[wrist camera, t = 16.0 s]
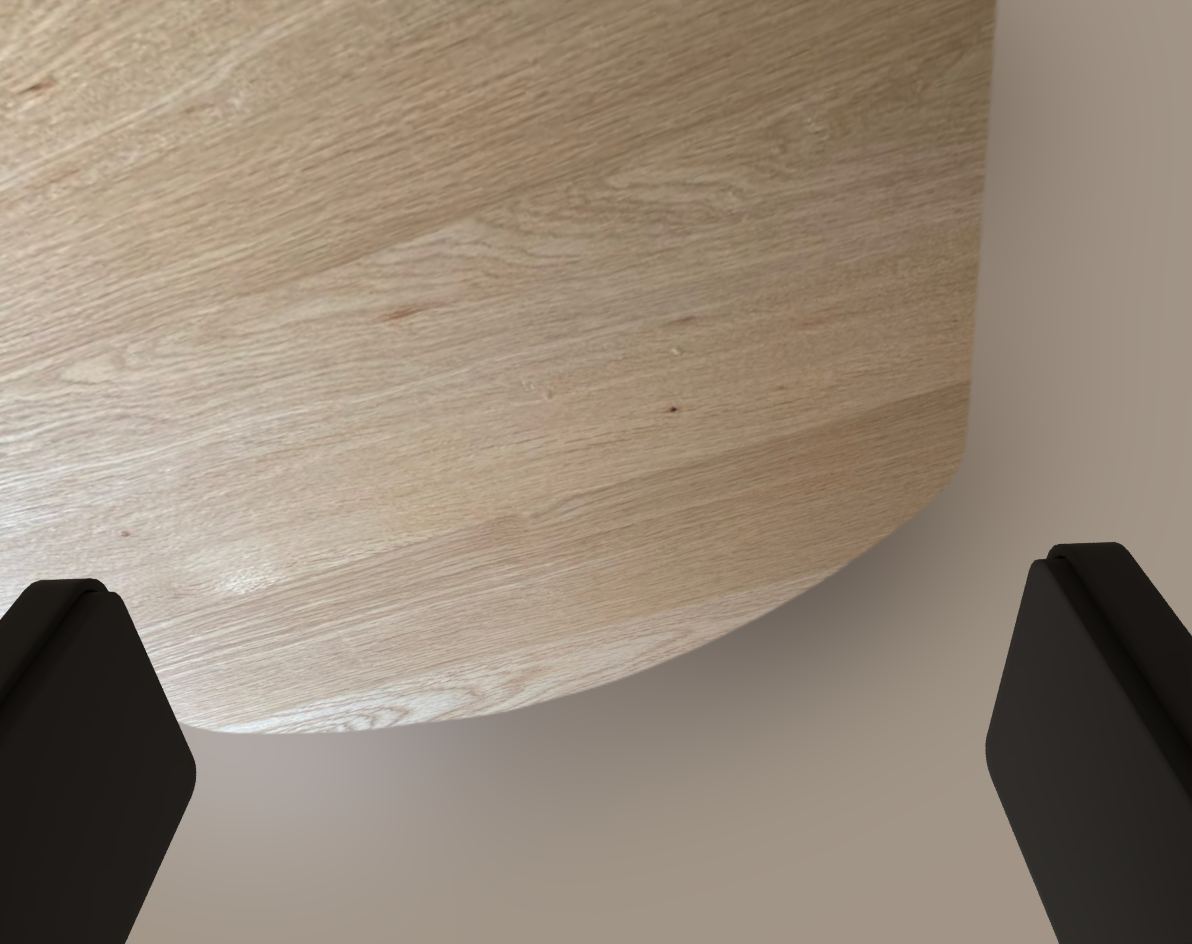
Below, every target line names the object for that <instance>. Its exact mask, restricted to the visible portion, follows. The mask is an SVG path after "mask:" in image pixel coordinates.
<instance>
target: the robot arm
mask: <svg viewBox="0 0 1192 944" xmlns="http://www.w3.org/2000/svg"><path fill="white" fill-rule="evenodd" d="M986 760H987V766H988V770H989V773H990V776H991V778H992V781H993V784H994V786H995V788H996V791H997V793H998V796H999V798H1000V801H1001V803H1002V806H1003V808H1004V810H1005V813H1006V815H1007V817H1008V820H1009V822H1010V825H1011V827H1012V830H1013V832H1014V834H1015V837H1016V840H1017V842H1018V844H1019V847H1020V849H1021V852H1022V854H1023V857H1024V859H1025V862H1026V864H1027V866H1028V869H1029V871H1030V874H1031V876H1032V878H1033V881H1034V883H1035V886H1036V888H1037V891H1038V893H1039V896H1040V898H1041V900H1042V903H1043V905H1044V908H1045V910H1046V913H1047V915H1048V918H1049V920H1050V922H1051V925H1052V927H1053V930H1054V932H1055V934H1056V937H1057V939H1058V942H1059V944H1192V636H1191V634H1190V633H1189V632H1188V630H1187V629H1186V628H1185V626H1184V625H1183V624H1182V622H1181V621H1180V620H1179V618H1178V617H1177V616H1176V614H1175V613H1174V612H1173V610H1172V609H1171V608H1170V606H1169V605H1168V603H1167V602H1166V601H1165V599H1164V598H1163V597H1162V595H1161V594H1160V593H1159V591H1158V590H1157V589H1156V587H1155V586H1154V585H1153V584H1152V582H1151V581H1150V579H1149V578H1148V577H1147V575H1146V574H1145V573H1144V571H1143V570H1142V569H1141V567H1140V566H1139V565H1138V563H1137V562H1136V561H1135V559H1134V558H1133V557H1132V555H1131V554H1130V552H1129V551H1128V550H1127V549H1126V548H1125V547H1124V546H1123V545H1121V544H1119V543H1116V542H1105V543H1104V542H1103V543H1075V544H1058V545H1055V546H1053V547H1052V549H1051V550H1050V551H1049V553H1048V556H1047V558H1046V559H1038V560H1035V561H1034V562H1033V563H1032V565H1031V567H1030V570H1029V573H1028V577H1027V581H1026V585H1025V589H1024V593H1023V596H1022V600H1021V604H1020V608H1019V612H1018V616H1017V620H1016V624H1015V628H1014V632H1013V636H1012V639H1011V643H1010V647H1009V651H1008V655H1007V659H1006V663H1005V667H1004V671H1003V675H1002V679H1001V683H1000V686H999V691H998V694H997V698H996V702H995V706H994V710H993V714H992V718H991V722H990V726H989V730H988V734H987V737H986ZM195 782H196V765H195V761H194V758H193V755H192V753H191V751H190V749H189V746H188V744H187V742H186V740H185V738H184V735H183V733H182V731H181V729H180V726H179V724H178V722H177V720H176V717H175V715H174V713H173V711H172V708H171V706H170V704H169V702H168V700H167V697H166V695H165V693H164V691H163V688H162V686H161V684H160V682H159V679H158V677H157V675H156V673H155V671H154V668H153V666H152V664H151V662H150V659H149V657H148V655H147V653H146V650H145V648H144V646H143V644H142V642H141V639H140V637H139V635H138V633H137V630H136V628H135V626H134V624H133V621H132V619H131V617H130V615H129V613H128V610H127V608H126V606H125V604H124V602H123V600H122V598H121V597H120V596H119V595H118V594H117V593H115V592H109V591H108V590H107V588H106V587H105V585H104V584H103V583H101V582H100V581H99V580H97V579H91V578H87V579H59V580H39V581H37V582H34V583H32V584H31V585H30V586H28V587H27V588H26V589H25V590H24V591H23V592H22V594H21V595H20V596H19V597H18V599H17V600H16V601H15V602H14V604H13V605H12V606H11V607H10V609H9V610H8V611H7V612H6V613H5V615H4V616H3V617H2V618H1V620H0V944H125V942H126V940H127V938H128V936H129V933H130V931H131V929H132V927H133V925H134V922H135V920H136V918H137V916H138V914H139V911H140V909H141V907H142V905H143V903H144V900H145V898H146V896H147V894H148V891H149V889H150V887H151V885H152V883H153V880H154V878H155V876H156V874H157V871H158V869H159V867H160V865H161V863H162V861H163V858H164V856H165V854H166V852H167V850H168V847H169V845H170V843H171V841H172V839H173V836H174V834H175V832H176V830H177V827H178V825H179V823H180V821H181V819H182V816H183V814H184V812H185V810H186V807H187V805H188V803H189V801H190V799H191V796H192V794H193V791H194V787H195Z"/></svg>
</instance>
